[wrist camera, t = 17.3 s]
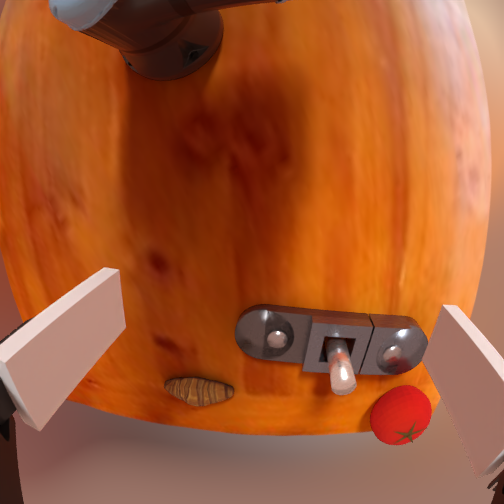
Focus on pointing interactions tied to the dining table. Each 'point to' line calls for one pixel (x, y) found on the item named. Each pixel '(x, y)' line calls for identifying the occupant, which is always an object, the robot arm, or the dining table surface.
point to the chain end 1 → (281, 331)
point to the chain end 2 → (368, 343)
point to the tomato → (401, 415)
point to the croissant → (198, 390)
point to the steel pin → (339, 365)
